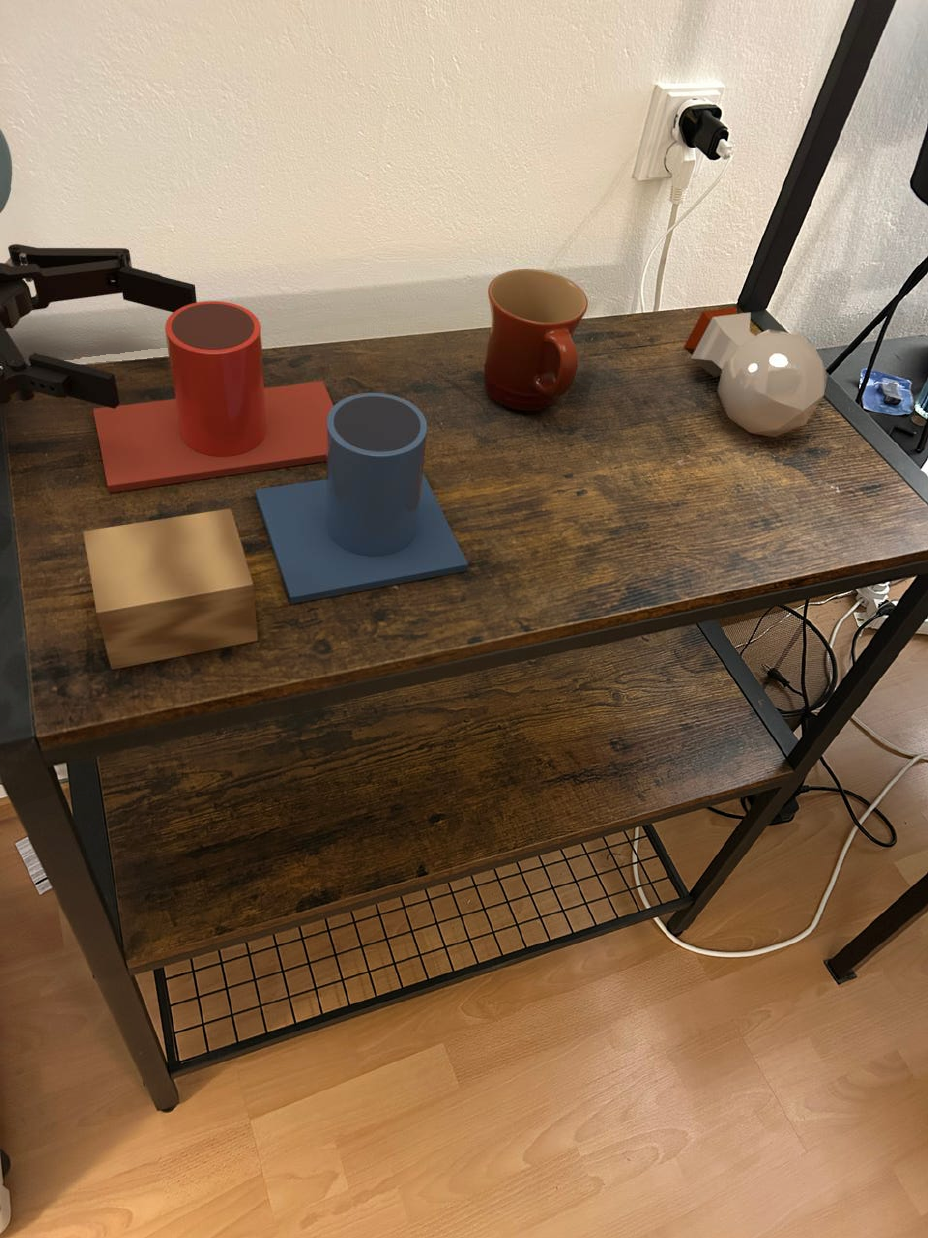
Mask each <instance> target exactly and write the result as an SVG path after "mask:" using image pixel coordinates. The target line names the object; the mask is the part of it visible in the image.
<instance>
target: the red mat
mask: <svg viewBox="0 0 928 1238" xmlns="http://www.w3.org/2000/svg"><path fill="white" fill-rule="evenodd" d="M264 396H265V414H266V434H265V436H264V438H263V440H262V441H261V442H260V443H259V444H258V445H257V446H256V447H254V448H253V449H251V450H249V451H247V452H245V453H242V454H238V455H233V456H211V455H206V454H202V453H200V452H197V451H195V450H193V449H192V448H190V447H189V446H188V445H186V444H185V442H184V441H183V440H182V438H181V436H180V432H179V425H178V418H177V411H176V404H175V398H172V399H164V400H155V401H147V402H138V403H130V404H121V405H118V406H117V407H116V408H115V409H114V408H110V407H106V406H103V407H98V408H96V407H95V408H93V409H92V413H93V419H94V423H95V427H96V433H97V439H98V443H99V450H100V453H101V454H100V455H101V459H102V463H103V464H102V465H103V469H104V475H105V480H106V486H107V489H108V493H111V494H112V493H119V492H127V491H132V490H138V489H145V488H152V487H160V486H167V485H172V484H181V483H187V482H194V481H200V480H207V479H214V478H221V477H228V476H234V475H241V474H247V473H254V472H262V471H263V472H264V471H268V470H269V471H270V470H276V469H284V468H289V467H296V466H303V465H304V466H305V465H309V464H310V465H311V464H317V463H323V462H326V433H327V417H328V414H329V412H330V410H331V409H332V408H333V407H334V406H335V405H334V404H333V401H332V399H331V397H330V394H329V392H328V389H327V388H326V385H325V383H324V381H323V380H321V381H313V382H304V383H296V384H288V385H287V384H286V385H280V386H279V385H277V386H271V387H264Z"/></svg>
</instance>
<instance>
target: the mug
mask: <svg viewBox="0 0 928 1238" xmlns="http://www.w3.org/2000/svg"><path fill="white" fill-rule="evenodd" d="M487 295H488V301H489V306H490V307H489V308H490V313H491V327H490V334H489V336H488V337H489V338H488V342H487V348H486V354H485V361H484V364H483V371H484V388H485V390H486V392H487V394H488V395H489V397H490V398H491V399H492V400H493V401H495V402H496V403H498V404H499V405H501V406H502V407H505V408H507V409H510V410H513V411H516V412H535V411H539V410H543V409H545V408H548V407H549V406H550V405H551V404H553V403H554V402H555V400H556V399H557V397H562V396H564V395H565V394H566V393H567V392H568V391H569V390H570V389H571V387H572V385H573V383H574V381H575V378H576V374H577V370H578V366H579V352H578V349H577V346H576V343H575V342H574V340H573V335H574V333H575V331H576V330H577V327H578V325H579V323H580V322H581V321H582V319H583V317H584V315H585V314H586V312H587V310H588V305H589V302H588V301H589V300H588V298H587V295H586V294H585V292H584V290H583V289H582V288H581V287H580V286H579V285H577V284H576V283H575V282H574V281H573V280H571V279H569V278H567V277H565V276H563V275H561V274H557V273H555V272H552V271H547V270H542V269H535V268H521V269H520V268H518V269H512V270H507V271H505V272H502V273H500V274H498V275H497V276H495V277H494V278H493V279H492V280H491V281H490V283H489V285H488V289H487Z"/></svg>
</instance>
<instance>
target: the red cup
mask: <svg viewBox="0 0 928 1238" xmlns="http://www.w3.org/2000/svg"><path fill="white" fill-rule="evenodd" d="M164 332H165V338H166V346H167V354H168V361H169V367H170V373H171V381H172V388H173V394H174V395H173V396H174V399H175V404H176V411H177V418H178V425H179V432H180V436H181V438H182V440H183V441H184V442H185V444H186V445H188V446H189V447H190V448H192V449H193V450H195V451H197V452H200V453H202V454H206V455H211V456H233V455H238V454H242V453H245V452H247V451H249V450H251V449H253V448H254V447H256V446H257V445H258V444H259V443H260V442H261V441H262V440H263V438H264V436H265V434H266V414H265V396H264V388H265V380H264V379H265V378H264V377H265V376H264V361H263V360H264V359H263V347H262V346H263V343H262V342H263V341H262V326H261V322H260V320H259V319H258V316H256V314H254V313H253V312H252V311H250V310H249V309H247V308H245V307H244V306H241V305H239V304H235V303H233V302H228V301H220V300H208V301H207V300H206V301H198V302H197V303H193V304H189V305H186V306H184V307H182V308H180V309H178V310H176V311H175V312H174V313H173V312H171V314H170V315H169V316H168V318H167V320H166V321H165V324H164Z"/></svg>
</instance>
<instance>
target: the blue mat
mask: <svg viewBox="0 0 928 1238" xmlns="http://www.w3.org/2000/svg"><path fill="white" fill-rule="evenodd" d="M254 494H255V500H256V503H257V507H258V509H259V511H260V514H261V518H262V521H263V524H264V527H265V530H266V533H267V536H268V539H269V540H268V541H269V543H270V546H271V549H272V552H273V554H274V558H275V561H276V564H277V567H278V571H279V573H280V574H279V575H280V577H281V579H282V583H283V586H284V589H285V592H286V594H287V598H288V601H289V604H290V605H295V604H301V603H306V602H310V601H317V600H320V599H321V600H322V599H326V598H332V597H337V596H342V595H348V594H352V593H357V592H363V591H369V590H374V589H379V588H383V587H388V586H395V585H400V584H405V583H410V582H411V583H412V582H415V581H420V580H427V579H431V578H437V577H442V576H447V575H452V574H458V573H462V572H467V571H468V567H469V563H468V561H467V558H466V556H465V555H464V553H463V550H462V548H461V546H460V544H459V543H458V541H457V539H456V537H455V534H454V532H453V531H452V528H451V526H450V524H449V522H448V520H447V518H446V516H445V514H444V512H443V510H442V507H441V506H440V504H439V502H438V499H437V497H436V495H435V493H434V491H433V489H432V487H431V485H430V483H429V481H428V479H427V476H426V475H425V473H424V472H423V476H422V486H421V495H420V505H419V515H418V525H417V531H416V534H415V537H414V538H413V540H412V541H411V542H410V544H408V545H407V546H406V547H405V548H403V549H402V550H400V551H398V552H395V553H393V554H389V555H385V556H364V555H359V554H355V553H352V552H349V551H347V550H345V549H344V548H342V547H340V546H339V545H338V544H337V543H336V542H335V541H334V540H333V539H332V538H331V536H330V535H329V533H328V531H327V527H326V478H324V479H318V480H317V479H316V480H311V481H305V482H298V483H292V484H285V485H279V486H272V487H264V488H259V489H255V490H254Z"/></svg>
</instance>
